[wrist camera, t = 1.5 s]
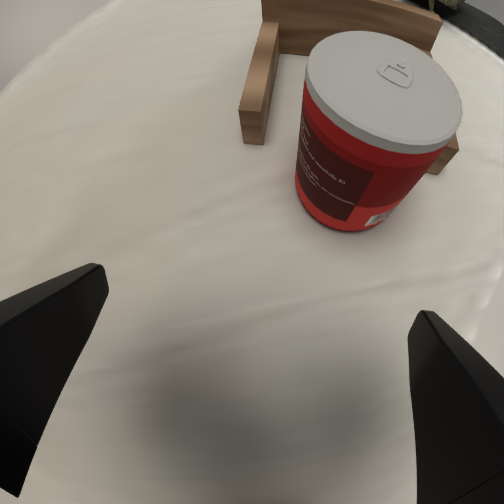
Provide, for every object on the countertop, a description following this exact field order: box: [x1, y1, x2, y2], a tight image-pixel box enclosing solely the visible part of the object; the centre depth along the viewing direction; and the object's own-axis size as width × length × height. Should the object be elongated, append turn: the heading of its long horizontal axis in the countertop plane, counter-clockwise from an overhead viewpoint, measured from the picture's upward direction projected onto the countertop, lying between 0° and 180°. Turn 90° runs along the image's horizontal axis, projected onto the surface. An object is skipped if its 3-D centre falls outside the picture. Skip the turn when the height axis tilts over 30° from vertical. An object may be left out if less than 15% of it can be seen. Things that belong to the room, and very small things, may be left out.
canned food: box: [295, 31, 462, 231], centre depth 16 cm, size 8×8×11 cm
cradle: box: [238, 0, 459, 175], centre depth 20 cm, size 14×16×8 cm
